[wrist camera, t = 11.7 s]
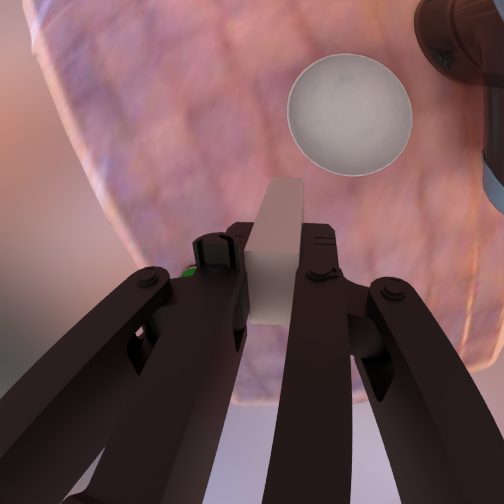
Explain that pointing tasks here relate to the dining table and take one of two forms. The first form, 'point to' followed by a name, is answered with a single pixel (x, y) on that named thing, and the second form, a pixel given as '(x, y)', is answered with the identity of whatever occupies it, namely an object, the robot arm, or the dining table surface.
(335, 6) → the dining table surface
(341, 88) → the chinaware
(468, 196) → the dining table surface
